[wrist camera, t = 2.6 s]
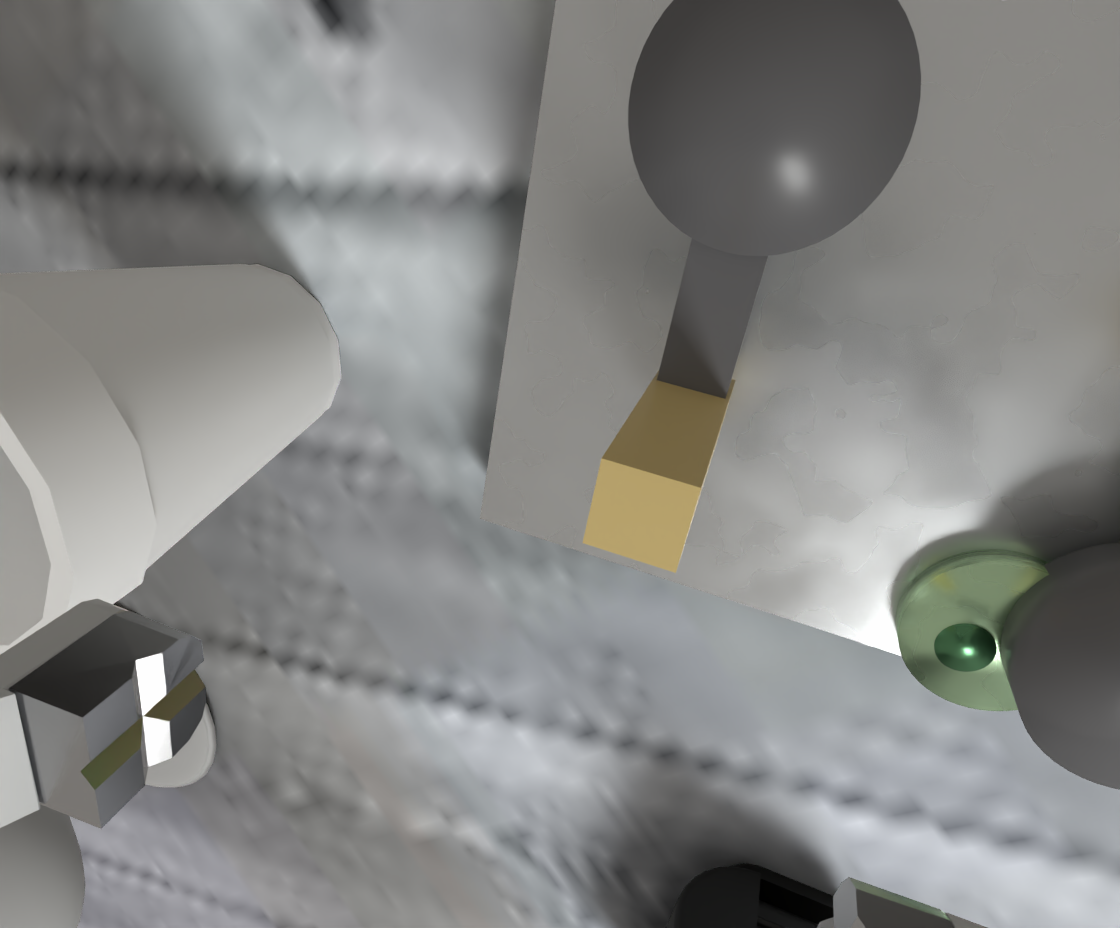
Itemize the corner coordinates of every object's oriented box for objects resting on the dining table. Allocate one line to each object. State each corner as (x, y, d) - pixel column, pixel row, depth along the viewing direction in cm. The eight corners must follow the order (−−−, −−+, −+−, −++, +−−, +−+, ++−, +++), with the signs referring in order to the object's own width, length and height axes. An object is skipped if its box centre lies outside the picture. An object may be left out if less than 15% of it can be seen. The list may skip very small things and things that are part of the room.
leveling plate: (1698, -63, 14) (1887, -104, 12) (1140, 710, 24) (1179, 780, 21) (610, -193, 19) (577, -243, 16) (499, 505, 28) (467, 543, 25)
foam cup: (194, 167, 26) (-281, 198, 15) (414, 306, 26) (97, 445, 14) (146, 384, 31) (-241, 533, 20) (332, 505, 30) (45, 728, 19)
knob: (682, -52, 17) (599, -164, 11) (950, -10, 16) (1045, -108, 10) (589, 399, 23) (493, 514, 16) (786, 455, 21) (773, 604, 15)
